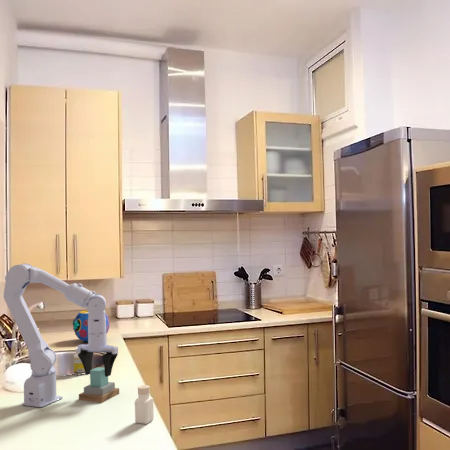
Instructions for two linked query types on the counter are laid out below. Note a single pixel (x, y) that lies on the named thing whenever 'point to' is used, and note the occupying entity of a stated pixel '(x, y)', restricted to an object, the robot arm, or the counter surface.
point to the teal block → (98, 377)
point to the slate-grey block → (99, 389)
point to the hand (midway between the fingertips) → (98, 374)
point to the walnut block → (99, 396)
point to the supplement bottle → (78, 364)
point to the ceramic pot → (84, 325)
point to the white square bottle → (144, 405)
